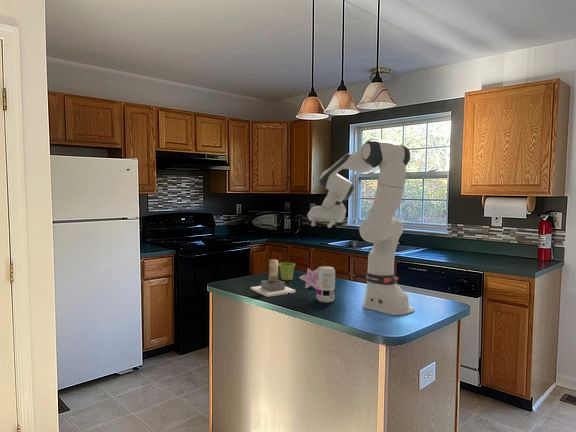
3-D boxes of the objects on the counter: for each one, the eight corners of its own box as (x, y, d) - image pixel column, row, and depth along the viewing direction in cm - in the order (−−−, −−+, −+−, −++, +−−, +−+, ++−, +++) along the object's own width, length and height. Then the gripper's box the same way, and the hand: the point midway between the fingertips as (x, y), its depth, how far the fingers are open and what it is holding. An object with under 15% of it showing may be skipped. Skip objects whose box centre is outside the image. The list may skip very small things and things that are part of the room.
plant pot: (276, 280, 227) (276, 264, 227) (281, 277, 236) (281, 261, 236) (292, 282, 225) (292, 266, 224) (297, 278, 234) (297, 263, 233)
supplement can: (313, 301, 188) (314, 268, 187) (320, 296, 195) (321, 265, 194) (330, 303, 184) (331, 270, 183) (337, 299, 191) (337, 267, 190)
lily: (296, 287, 216) (296, 273, 211) (311, 276, 223) (311, 262, 218) (314, 298, 209) (314, 284, 204) (328, 286, 217) (329, 272, 211)
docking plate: (295, 292, 202) (295, 283, 202) (267, 296, 193) (267, 286, 193) (278, 285, 216) (278, 276, 215) (250, 289, 207) (250, 280, 206)
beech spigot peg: (279, 289, 204) (279, 260, 203) (271, 290, 201) (272, 261, 200) (274, 287, 207) (275, 259, 206) (267, 288, 205) (267, 260, 204)
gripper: (311, 201, 224) (301, 220, 217) (345, 203, 212) (336, 223, 205) (315, 209, 228) (305, 228, 221) (349, 211, 216) (340, 231, 209)
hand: (320, 226), depth 213 cm, fingers open, 8 cm apart
